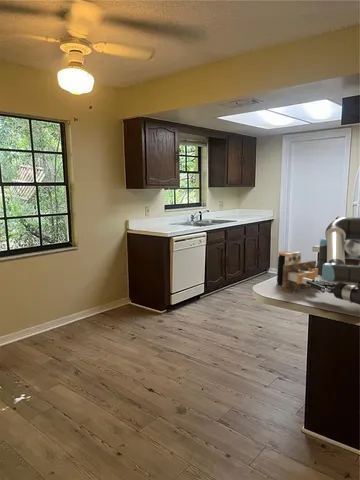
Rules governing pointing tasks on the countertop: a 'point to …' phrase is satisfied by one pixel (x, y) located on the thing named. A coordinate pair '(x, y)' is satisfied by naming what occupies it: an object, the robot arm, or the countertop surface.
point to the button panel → (294, 270)
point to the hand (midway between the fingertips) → (303, 280)
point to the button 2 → (314, 271)
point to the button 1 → (296, 277)
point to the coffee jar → (281, 266)
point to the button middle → (308, 274)
